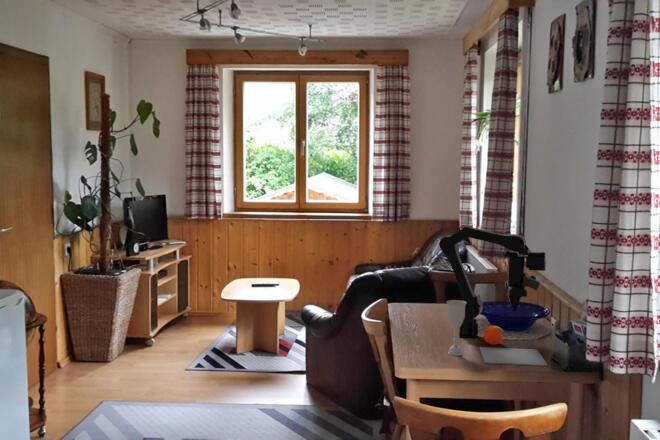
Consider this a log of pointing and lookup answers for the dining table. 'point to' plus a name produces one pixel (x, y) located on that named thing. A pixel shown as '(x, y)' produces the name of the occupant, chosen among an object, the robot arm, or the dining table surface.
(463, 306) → the chalice
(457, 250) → the robot arm
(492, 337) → the clementine
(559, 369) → the dining table surface
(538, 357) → the mat
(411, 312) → the dining table surface
